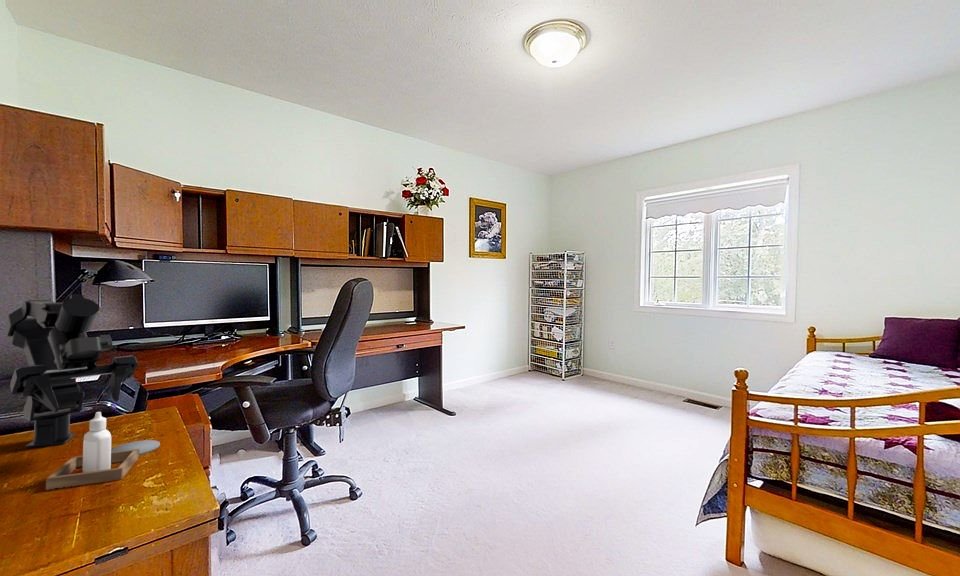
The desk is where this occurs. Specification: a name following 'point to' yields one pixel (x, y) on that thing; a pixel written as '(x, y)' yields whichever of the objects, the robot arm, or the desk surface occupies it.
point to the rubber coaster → (138, 446)
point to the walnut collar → (67, 480)
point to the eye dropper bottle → (97, 446)
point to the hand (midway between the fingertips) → (88, 405)
